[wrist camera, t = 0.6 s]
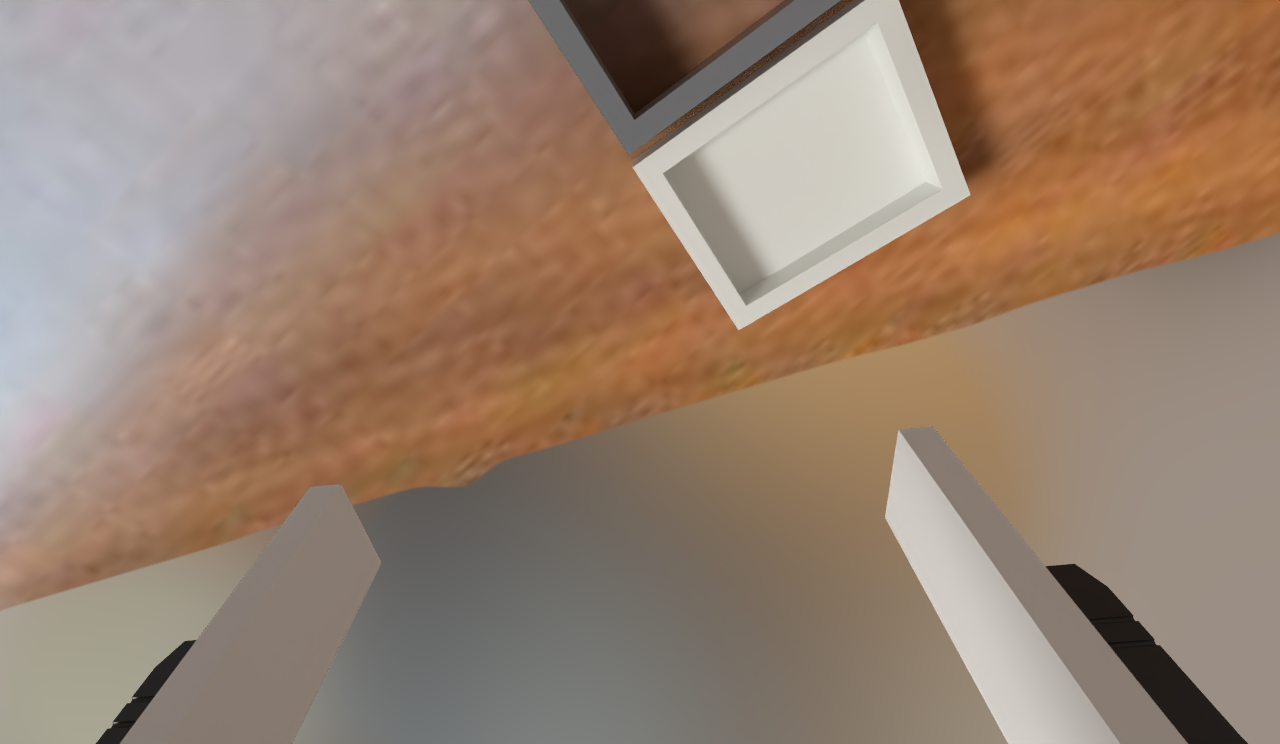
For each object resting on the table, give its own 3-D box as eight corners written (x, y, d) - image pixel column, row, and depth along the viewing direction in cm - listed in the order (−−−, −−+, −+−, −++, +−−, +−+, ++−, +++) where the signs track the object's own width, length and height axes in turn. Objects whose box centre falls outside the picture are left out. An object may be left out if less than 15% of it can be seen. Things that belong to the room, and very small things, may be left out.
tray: (632, 159, 33) (632, 167, 30) (870, -13, 28) (891, -19, 26) (732, 313, 38) (738, 330, 35) (947, 185, 33) (970, 194, 31)
